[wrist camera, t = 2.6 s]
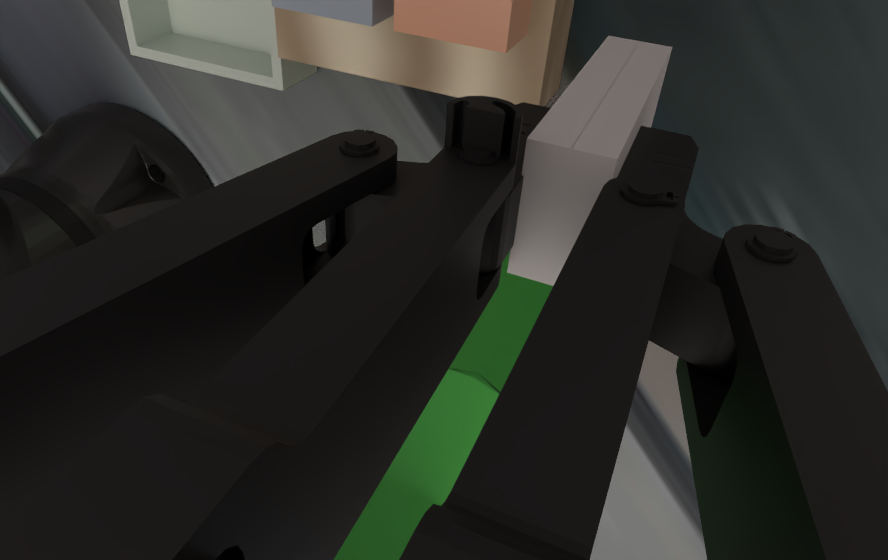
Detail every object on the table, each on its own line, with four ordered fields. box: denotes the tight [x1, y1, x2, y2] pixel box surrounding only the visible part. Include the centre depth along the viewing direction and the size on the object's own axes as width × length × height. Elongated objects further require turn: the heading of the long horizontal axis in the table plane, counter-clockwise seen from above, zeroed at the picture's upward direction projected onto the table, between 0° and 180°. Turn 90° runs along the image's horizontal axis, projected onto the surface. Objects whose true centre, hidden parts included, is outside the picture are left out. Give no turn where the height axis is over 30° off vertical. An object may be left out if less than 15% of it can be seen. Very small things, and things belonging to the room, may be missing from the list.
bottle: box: [334, 251, 553, 560], centre depth 30 cm, size 9×9×25 cm
